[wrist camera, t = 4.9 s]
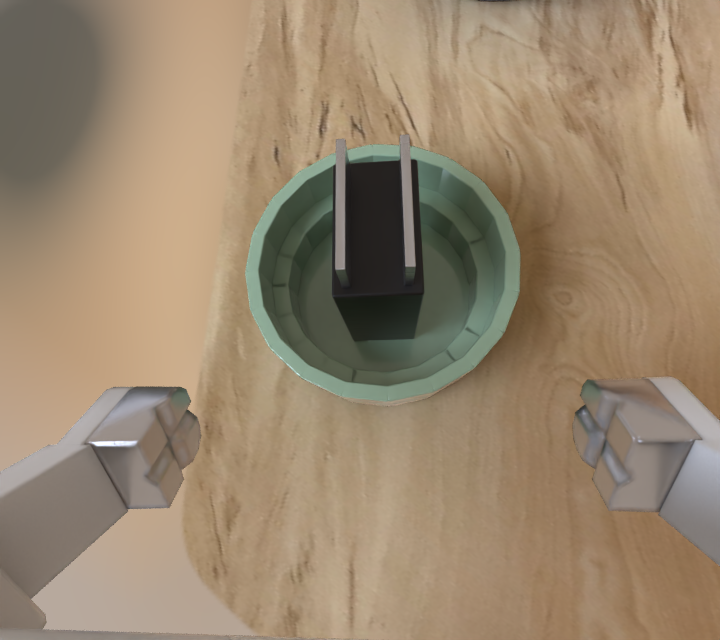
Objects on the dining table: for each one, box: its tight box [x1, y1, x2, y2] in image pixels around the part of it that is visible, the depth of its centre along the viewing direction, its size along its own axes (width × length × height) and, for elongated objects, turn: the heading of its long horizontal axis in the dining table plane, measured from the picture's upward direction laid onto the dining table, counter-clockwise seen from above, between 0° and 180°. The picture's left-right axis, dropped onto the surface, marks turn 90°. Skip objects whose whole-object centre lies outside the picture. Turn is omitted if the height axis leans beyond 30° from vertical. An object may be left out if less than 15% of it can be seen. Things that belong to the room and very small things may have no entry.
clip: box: [332, 135, 424, 341], centre depth 16 cm, size 5×3×9 cm, turn 1°
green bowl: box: [245, 144, 520, 407], centre depth 19 cm, size 11×11×4 cm
